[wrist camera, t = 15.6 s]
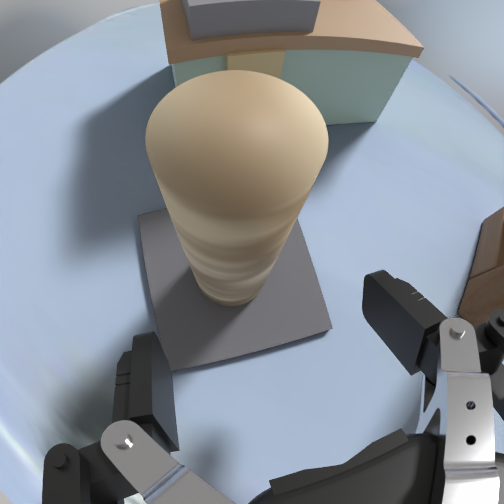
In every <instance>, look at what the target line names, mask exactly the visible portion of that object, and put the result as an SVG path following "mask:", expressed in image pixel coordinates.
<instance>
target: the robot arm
mask: <svg viewBox="0 0 504 504" xmlns="http://www.w3.org/2000/svg"><path fill="white" fill-rule="evenodd" d="M362 311H363V315H364V317H365V319H366V321H367V322H368V323H369V325H370V326H371V327H372V328H373V329H374V331H375V332H376V333H377V334H378V335H379V337H380V338H381V339H382V340H383V341H384V343H385V344H386V345H387V346H388V348H389V349H390V350H391V351H392V352H393V354H394V355H395V356H396V357H397V359H398V360H399V361H400V362H401V364H402V365H403V366H404V367H405V369H406V370H407V371H408V372H409V374H410V375H413V374H415V373H417V372H419V371H422V372H423V373H424V375H423V379H422V393H421V407H420V417H419V422H418V426H417V429H416V432H415V434H408V435H405V433H404V432H403V430H402V429H399V430H397V431H395V432H393V433H391V434H389V435H387V436H385V437H383V438H381V439H379V440H377V441H375V442H372V443H371V444H370V445H369V446H367V447H366V448H365V449H363V450H362V451H361V452H359V453H358V454H357V455H355V456H354V457H353V458H351V459H350V460H348V461H347V462H346V463H344V464H341V465H336V466H329V467H322V468H314V469H306V470H302V471H299V472H296V473H292V474H289V475H286V476H283V477H279V478H276V479H272V480H269V482H270V485H271V488H269V489H267V490H265V491H264V492H262V493H261V494H259V495H258V496H256V497H255V498H254V499H253V500H252V501H250V502H249V503H248V504H504V454H502V453H497V452H495V434H494V413H493V407H494V408H495V410H496V411H497V412H498V414H499V415H500V416H501V418H502V419H503V420H504V365H503V364H502V362H503V360H504V309H496V310H493V311H492V312H491V313H490V314H489V317H488V320H487V322H485V323H480V324H475V325H471V324H470V323H469V322H468V321H466V320H464V319H461V318H455V317H453V318H447V317H446V316H445V315H444V314H443V313H441V312H440V311H439V310H438V309H437V308H436V307H435V306H434V305H433V304H432V303H431V302H429V301H428V300H427V299H426V298H424V296H423V295H422V294H420V293H419V292H417V290H416V289H415V288H414V287H412V286H411V285H410V284H409V283H407V282H405V281H403V280H400V279H398V278H396V279H394V278H393V277H392V276H391V275H390V274H389V273H388V272H386V271H385V270H380V271H377V272H374V273H371V274H368V275H366V276H365V278H364V287H363V301H362ZM116 376H117V377H116V383H115V385H116V387H115V395H114V408H113V422H112V424H111V425H109V426H108V427H107V428H106V429H105V431H104V432H103V434H102V437H101V440H100V441H99V442H97V443H94V444H92V445H89V446H87V447H84V448H82V449H79V450H77V449H76V448H75V447H73V446H72V445H70V444H66V443H62V444H58V445H55V446H54V447H52V448H51V449H50V450H49V451H48V453H47V454H46V457H45V460H44V471H43V490H42V504H124V498H126V497H129V496H132V495H134V494H137V493H140V494H141V495H142V496H143V498H144V501H145V502H146V503H147V504H235V503H234V502H232V501H231V500H230V499H228V498H227V497H225V496H224V495H223V494H221V493H220V492H218V491H217V490H216V489H214V488H213V487H212V486H210V485H209V484H208V483H206V482H205V481H204V480H202V479H201V478H200V477H199V476H197V475H196V474H195V473H194V472H192V471H191V470H190V469H188V468H187V467H186V466H184V465H181V464H180V463H179V462H177V461H176V460H175V459H174V458H173V457H172V456H171V455H170V452H174V451H180V450H179V442H178V434H177V425H176V416H175V405H174V394H173V382H172V373H171V369H170V365H169V362H168V360H167V358H166V355H165V353H164V351H163V349H162V347H161V345H160V342H159V340H158V338H157V336H156V334H155V332H149V333H144V334H140V335H135V336H134V337H133V346H132V351H128V352H124V353H123V355H122V357H121V358H120V360H119V362H118V364H117V373H116Z"/></svg>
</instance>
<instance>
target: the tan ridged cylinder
mask: <svg viewBox="0 0 504 504" xmlns="http://www.w3.org/2000/svg"><path fill="white" fill-rule="evenodd" d="M145 145H146V151H147V155H148V158H149V160H150V163H151V166H152V169H153V172H154V174H155V177H156V180H157V183H158V185H159V188H160V191H161V193H162V196H163V199H164V201H165V204H166V207H167V209H168V212H169V214H170V217H171V220H172V222H173V225H174V227H175V230H176V232H177V235H178V237H179V240H180V242H181V245H182V247H183V250H184V252H185V255H186V257H187V260H188V262H189V264H190V267H191V269H192V272H193V274H194V276H195V279H196V281H197V283H198V286H199V288H200V290H201V291H202V293H203V294H204V295H205V296H206V297H207V298H208V299H209V300H211V301H212V302H214V303H216V304H218V305H221V306H226V307H236V306H241V305H244V304H246V303H248V302H250V301H251V300H253V299H254V298H255V297H256V296H257V295H258V294H259V292H260V291H261V290H262V288H263V286H264V284H265V282H266V280H267V278H268V276H269V274H270V272H271V270H272V268H273V266H274V264H275V262H276V260H277V258H278V256H279V254H280V252H281V250H282V248H283V246H284V244H285V242H286V240H287V238H288V236H289V233H290V231H291V229H292V227H293V225H294V223H295V221H296V219H297V217H298V215H299V213H300V211H301V209H302V207H303V205H304V203H305V201H306V199H307V197H308V194H309V192H310V190H311V188H312V186H313V184H314V182H315V180H316V178H317V176H318V174H319V171H320V169H321V167H322V165H323V163H324V161H325V159H326V155H327V151H328V131H327V128H326V124H325V121H324V119H323V117H322V115H321V113H320V112H319V110H318V108H317V107H316V106H315V104H314V103H313V102H312V101H311V100H310V99H309V98H308V97H307V96H306V95H305V94H304V93H302V92H301V91H300V90H299V89H297V88H296V87H294V86H292V85H291V84H289V83H287V82H285V81H283V80H281V79H279V78H276V77H273V76H270V75H267V74H263V73H259V72H253V71H244V70H227V71H218V72H212V73H208V74H204V75H201V76H198V77H195V78H193V79H190V80H188V81H186V82H184V83H182V84H180V85H179V86H177V87H176V88H174V89H173V90H172V91H170V92H169V93H168V94H167V95H166V96H165V97H164V98H163V99H162V100H161V101H160V102H159V103H158V105H157V106H156V107H155V109H154V110H153V112H152V114H151V116H150V118H149V121H148V124H147V127H146V133H145Z"/></svg>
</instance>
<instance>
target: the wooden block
mask: <svg viewBox="0 0 504 504" xmlns="http://www.w3.org/2000/svg"><path fill="white" fill-rule="evenodd" d="M496 309H504V207H502V208H501V209H499V210H498V211H497V212H495V213H494V214H492V215H491V216H489V217H487V218H486V219H485V220H484V221H483V225H482V230H481V235H480V239H479V243H478V247H477V252H476V255H475V259H474V263H473V267H472V270H471V274H470V280H469V281H468V283H467V286H466V290H465V293H464V296H463V299H462V302H461V305H460V308H459V310H458V313H459V315H460V316H462V317H463V318H464V319H465V320H466V321H468V322H469V323H470V324H471V325H475V324H480V323H485V322H487V320H488V317H489V314H490V313H491V312H492V311H493V310H496Z"/></svg>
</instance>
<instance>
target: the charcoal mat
mask: <svg viewBox="0 0 504 504" xmlns="http://www.w3.org/2000/svg"><path fill="white" fill-rule="evenodd" d="M138 220H139V227H140V234H141V241H142V248H143V254H144V260H145V266H146V272H147V278H148V283H149V289H150V294H151V299H152V304H153V309H154V314H155V319H156V323H157V328H158V332H159V337H160V341H161V345H162V349H163V351H164V353H165V355H166V358H167V360H168V362H169V365H170V369H171V371H175V370H180V369H185V368H190V367H194V366H199V365H203V364H208V363H212V362H216V361H220V360H225V359H229V358H233V357H237V356H241V355H244V354H248V353H252V352H256V351H259V350H263V349H267V348H270V347H274V346H277V345H281V344H284V343H288V342H291V341H294V340H298V339H301V338H304V337H308V336H311V335H314V334H317V333H320V332H323V331H326V330H329V329H333V328H332V324H331V321H330V318H329V314H328V311H327V308H326V304H325V301H324V298H323V295H322V292H321V288H320V285H319V282H318V279H317V276H316V273H315V269H314V266H313V263H312V260H311V257H310V254H309V251H308V248H307V245H306V242H305V239H304V236H303V233H302V230H301V227H300V224H299V222H298V219H296V221H295V223H294V225H293V227H292V229H291V231H290V233H289V236H288V238H287V240H286V242H285V244H284V246H283V248H282V250H281V252H280V254H279V256H278V258H277V260H276V262H275V264H274V266H273V268H272V270H271V272H270V274H269V276H268V278H267V280H266V282H265V284H264V286H263V288H262V290H261V291H260V292H259V294H258V295H257V296H256V297H255V298H254V299H253V300H251V301H250V302H248V303H246V304H244V305H241V306H236V307H226V306H221V305H218V304H216V303H214V302H212V301H211V300H209V299H208V298H207V297H206V296H205V295H204V294H203V293H202V291H201V290H200V288H199V286H198V283H197V281H196V279H195V276H194V274H193V272H192V269H191V267H190V264H189V262H188V260H187V257H186V255H185V252H184V250H183V247H182V245H181V242H180V240H179V237H178V235H177V232H176V230H175V227H174V225H173V222H172V220H171V217H170V214H169V212H168V209H167V208H166V209H162V210H157V211H153V212H149V213H145V214H142V215H138Z"/></svg>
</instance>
